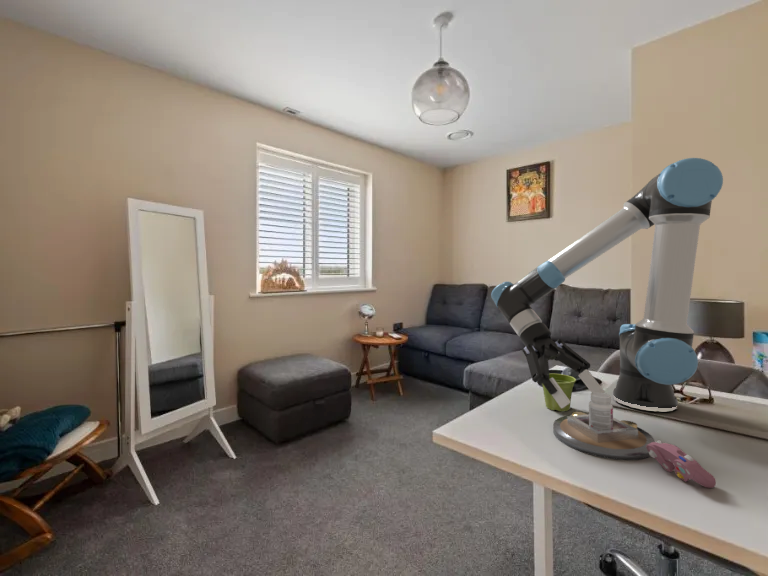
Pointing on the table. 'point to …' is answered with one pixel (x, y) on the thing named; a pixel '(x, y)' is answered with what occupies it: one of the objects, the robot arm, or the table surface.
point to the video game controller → (680, 463)
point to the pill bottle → (600, 411)
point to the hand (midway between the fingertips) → (584, 400)
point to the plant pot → (566, 386)
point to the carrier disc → (603, 437)
